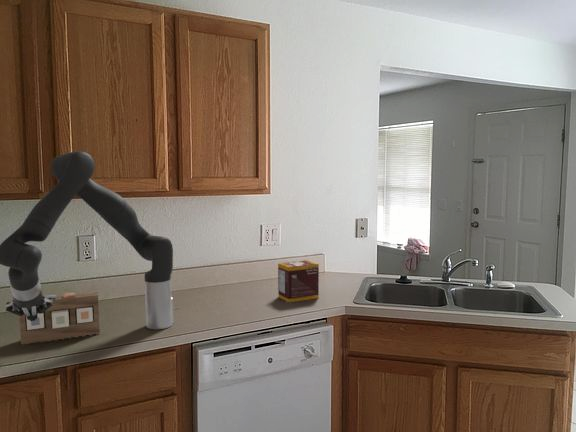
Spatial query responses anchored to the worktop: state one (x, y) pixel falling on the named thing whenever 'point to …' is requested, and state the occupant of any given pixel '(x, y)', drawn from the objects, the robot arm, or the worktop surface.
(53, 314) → the sage key
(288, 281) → the supplement box
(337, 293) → the worktop surface
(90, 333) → the keypad panel
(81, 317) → the terracotta key
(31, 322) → the slate key
